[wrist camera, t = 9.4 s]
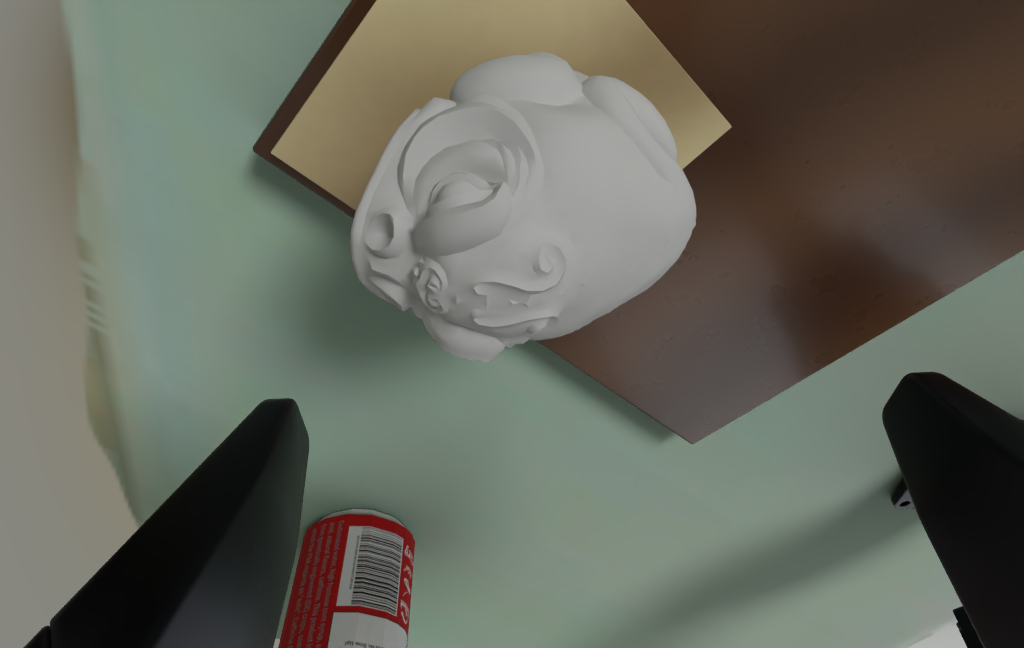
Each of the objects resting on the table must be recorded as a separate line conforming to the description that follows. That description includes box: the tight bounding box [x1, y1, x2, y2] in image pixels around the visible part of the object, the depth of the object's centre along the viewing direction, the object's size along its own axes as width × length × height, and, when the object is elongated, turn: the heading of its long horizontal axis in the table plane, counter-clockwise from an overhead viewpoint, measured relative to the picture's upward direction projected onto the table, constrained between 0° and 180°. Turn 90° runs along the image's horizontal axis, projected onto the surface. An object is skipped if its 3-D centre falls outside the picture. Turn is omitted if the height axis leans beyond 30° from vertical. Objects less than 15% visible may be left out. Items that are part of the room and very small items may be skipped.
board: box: [253, 0, 1024, 444], centre depth 16 cm, size 20×20×1 cm
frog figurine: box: [350, 52, 696, 361], centre depth 13 cm, size 6×7×7 cm
